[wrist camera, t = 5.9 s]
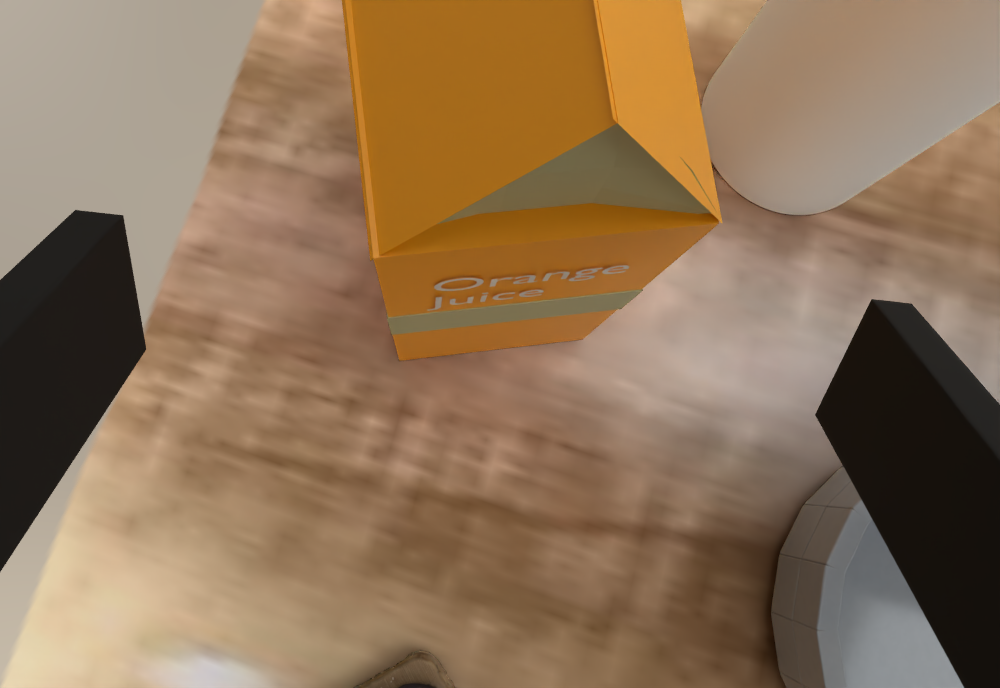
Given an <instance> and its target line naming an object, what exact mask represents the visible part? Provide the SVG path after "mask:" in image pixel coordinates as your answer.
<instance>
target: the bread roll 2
mask: <svg viewBox="0 0 1000 688" xmlns="http://www.w3.org/2000/svg"><path fill="white" fill-rule="evenodd" d="M446 674H447V672H446V671H445V670H444V669H443V668H442V666H441V664H440V663H439V661H438V660H437V659H436V658H435V657H434V656H433V655H432V654H431V653H430V652H426V651H421V650H420V651H415V652H413V653H412V656H409V655H408V656H407V658H406V659H405V660H403V661H401V662H400V663H397V665H396V666H394V668H388V669H386V670H385V671H384V672H383V673H379V674H378V675H376V676H375V677H374V679H372V678H371V679H370V680H369V681H367V682H365V683H363V684H362V685H361V686H356V687H354V688H455V687H454V685H453V682H452V681H451V680H450V679H449V678H448V677H447V676H446Z"/></svg>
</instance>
